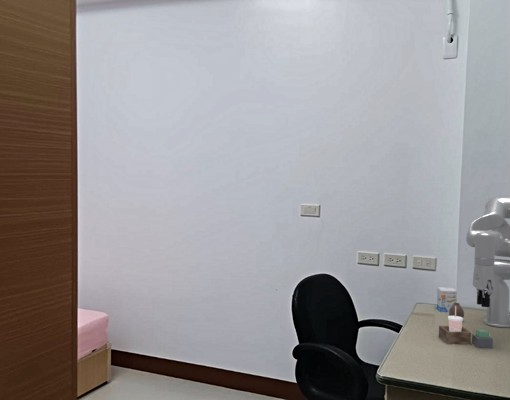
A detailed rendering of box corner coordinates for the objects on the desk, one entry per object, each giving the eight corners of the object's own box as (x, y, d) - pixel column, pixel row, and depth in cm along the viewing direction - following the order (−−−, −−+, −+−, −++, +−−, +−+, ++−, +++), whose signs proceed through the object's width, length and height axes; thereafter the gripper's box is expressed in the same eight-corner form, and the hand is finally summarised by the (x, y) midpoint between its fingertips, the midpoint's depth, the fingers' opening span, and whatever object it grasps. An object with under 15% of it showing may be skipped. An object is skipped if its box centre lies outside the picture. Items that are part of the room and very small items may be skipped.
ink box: (439, 311, 265) (440, 290, 264) (436, 307, 273) (437, 286, 273) (456, 312, 263) (457, 290, 263) (453, 308, 272) (453, 287, 271)
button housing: (486, 343, 212) (486, 334, 212) (492, 348, 206) (492, 338, 206) (472, 343, 212) (472, 334, 212) (478, 348, 206) (478, 338, 206)
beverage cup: (461, 341, 212) (461, 308, 211) (446, 338, 215) (446, 306, 215) (463, 337, 217) (464, 305, 216) (449, 335, 220) (449, 303, 220)
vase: (465, 323, 244) (465, 305, 243) (450, 322, 245) (450, 304, 245) (462, 319, 250) (462, 302, 250) (447, 318, 252) (448, 301, 251)
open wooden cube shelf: (461, 337, 221) (461, 325, 221) (470, 344, 211) (470, 332, 211) (438, 336, 221) (438, 325, 221) (446, 343, 211) (447, 332, 211)
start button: (484, 341, 211) (485, 329, 210) (488, 344, 207) (489, 332, 207) (475, 340, 211) (476, 329, 210) (479, 343, 207) (480, 331, 207)
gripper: (467, 258, 216) (466, 300, 217) (483, 265, 199) (482, 310, 200) (484, 259, 216) (483, 301, 216) (502, 265, 199) (501, 310, 200)
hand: (483, 305), depth 208 cm, fingers open, 3 cm apart
